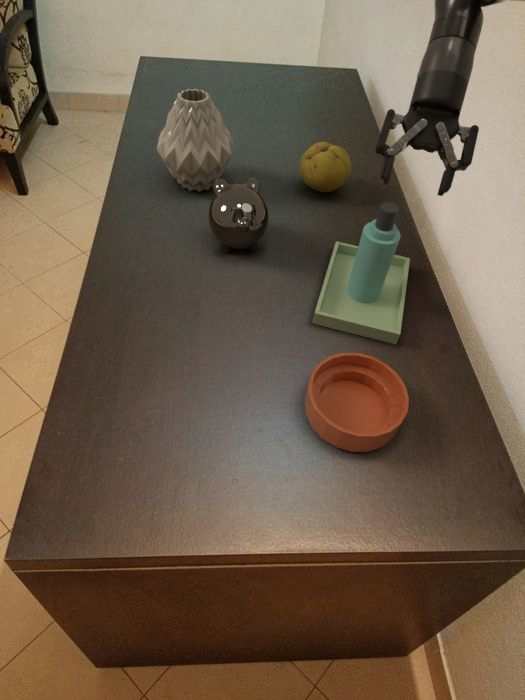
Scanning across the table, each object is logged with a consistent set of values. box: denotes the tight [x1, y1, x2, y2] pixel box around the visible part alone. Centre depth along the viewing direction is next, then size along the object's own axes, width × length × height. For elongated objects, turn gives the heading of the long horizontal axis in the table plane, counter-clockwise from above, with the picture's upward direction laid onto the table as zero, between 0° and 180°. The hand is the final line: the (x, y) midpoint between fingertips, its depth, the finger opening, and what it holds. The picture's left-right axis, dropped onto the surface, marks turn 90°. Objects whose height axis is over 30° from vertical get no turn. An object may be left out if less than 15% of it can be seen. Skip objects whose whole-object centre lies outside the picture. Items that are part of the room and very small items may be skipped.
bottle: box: [347, 201, 401, 303], centre depth 78 cm, size 6×6×18 cm
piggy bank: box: [208, 177, 270, 253], centre depth 88 cm, size 11×15×12 cm
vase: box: [156, 88, 236, 192], centre depth 98 cm, size 16×16×18 cm
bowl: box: [303, 352, 410, 453], centre depth 67 cm, size 14×14×5 cm
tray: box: [311, 240, 411, 345], centre depth 84 cm, size 14×20×3 cm
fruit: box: [299, 141, 352, 193], centre depth 103 cm, size 11×12×10 cm
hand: (413, 188), depth 72 cm, fingers open, 8 cm apart
